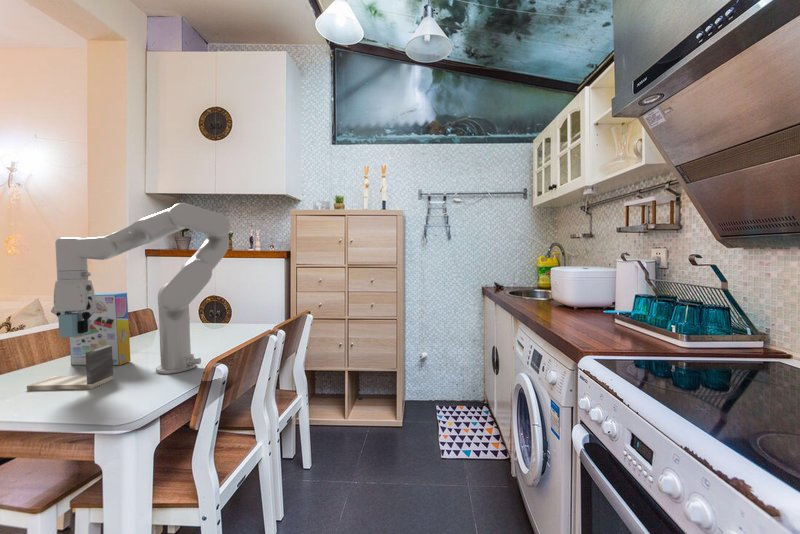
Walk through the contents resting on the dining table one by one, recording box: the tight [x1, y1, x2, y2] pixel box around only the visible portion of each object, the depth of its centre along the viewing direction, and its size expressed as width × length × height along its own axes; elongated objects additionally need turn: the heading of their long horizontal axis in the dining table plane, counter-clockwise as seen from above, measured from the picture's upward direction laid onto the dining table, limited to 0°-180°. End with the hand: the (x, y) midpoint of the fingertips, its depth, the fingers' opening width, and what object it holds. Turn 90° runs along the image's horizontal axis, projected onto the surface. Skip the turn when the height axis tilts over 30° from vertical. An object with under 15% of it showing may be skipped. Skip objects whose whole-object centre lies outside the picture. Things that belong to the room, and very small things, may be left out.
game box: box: [69, 292, 132, 366], centre depth 145 cm, size 21×6×27 cm, turn 84°
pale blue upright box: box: [57, 312, 90, 339], centre depth 121 cm, size 4×7×7 cm, turn 1°
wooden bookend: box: [26, 346, 114, 391], centre depth 122 cm, size 20×9×12 cm, turn 91°
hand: (75, 332), depth 121 cm, fingers closed on pale blue upright box, 4 cm apart
